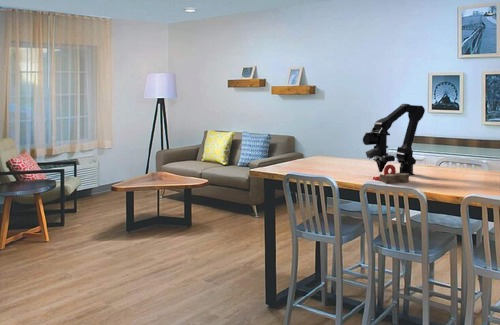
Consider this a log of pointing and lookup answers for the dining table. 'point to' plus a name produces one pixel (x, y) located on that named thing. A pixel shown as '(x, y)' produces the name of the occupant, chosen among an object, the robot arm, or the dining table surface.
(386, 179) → the cradle
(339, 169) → the dining table surface
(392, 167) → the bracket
